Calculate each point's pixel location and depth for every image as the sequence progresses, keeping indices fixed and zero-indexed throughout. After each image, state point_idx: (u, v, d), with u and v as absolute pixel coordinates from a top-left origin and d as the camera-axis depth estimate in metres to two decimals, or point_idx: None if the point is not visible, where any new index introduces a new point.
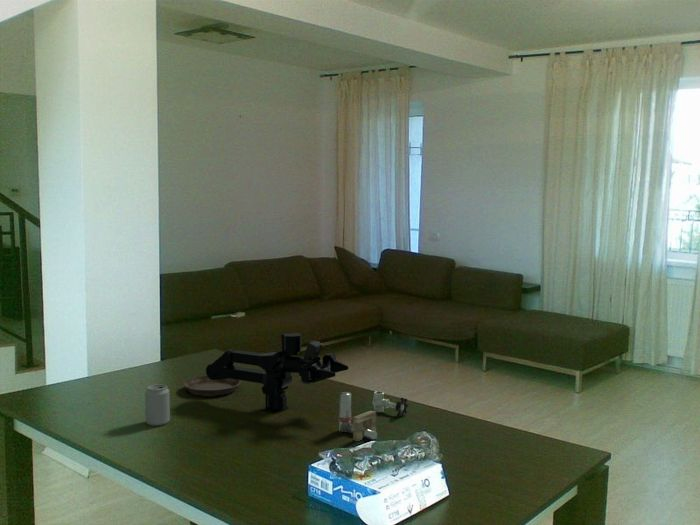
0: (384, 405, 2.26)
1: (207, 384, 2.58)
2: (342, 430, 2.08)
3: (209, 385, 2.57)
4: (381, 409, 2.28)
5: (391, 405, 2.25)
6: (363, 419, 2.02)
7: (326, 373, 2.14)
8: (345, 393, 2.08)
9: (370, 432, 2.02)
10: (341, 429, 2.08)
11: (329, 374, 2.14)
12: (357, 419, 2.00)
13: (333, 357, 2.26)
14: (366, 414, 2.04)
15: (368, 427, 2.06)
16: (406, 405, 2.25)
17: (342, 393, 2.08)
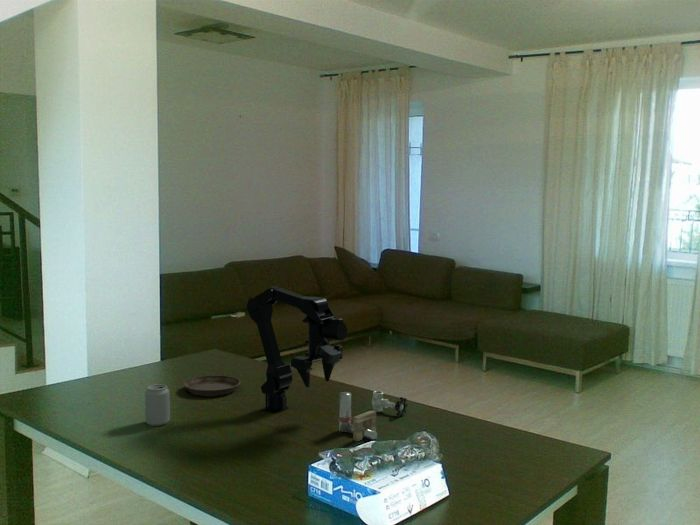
0: (383, 405, 2.27)
1: (207, 384, 2.58)
2: (342, 430, 2.08)
3: (209, 385, 2.57)
4: (380, 409, 2.28)
5: (390, 405, 2.26)
6: (363, 419, 2.02)
7: (305, 380, 2.14)
8: (345, 393, 2.08)
9: (370, 432, 2.02)
10: (341, 429, 2.08)
11: (305, 382, 2.15)
12: (357, 419, 2.00)
13: (335, 363, 2.21)
14: (366, 414, 2.04)
15: (368, 427, 2.06)
16: (405, 405, 2.26)
17: (342, 393, 2.08)
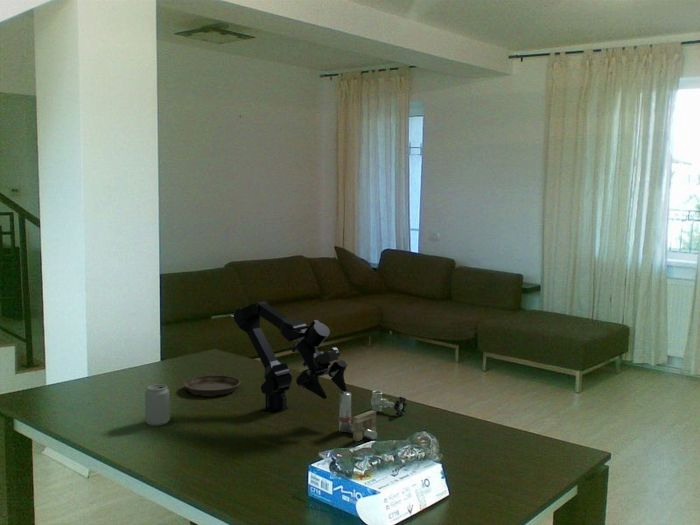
0: (382, 405, 2.27)
1: (207, 384, 2.58)
2: (342, 430, 2.08)
3: (209, 385, 2.57)
4: (379, 408, 2.29)
5: (390, 404, 2.26)
6: (363, 419, 2.02)
7: (319, 391, 2.08)
8: (345, 393, 2.08)
9: (370, 432, 2.02)
10: (341, 429, 2.08)
11: (321, 394, 2.08)
12: (357, 419, 2.00)
13: (342, 370, 2.17)
14: (366, 414, 2.04)
15: (368, 427, 2.06)
16: (405, 404, 2.26)
17: (342, 393, 2.08)
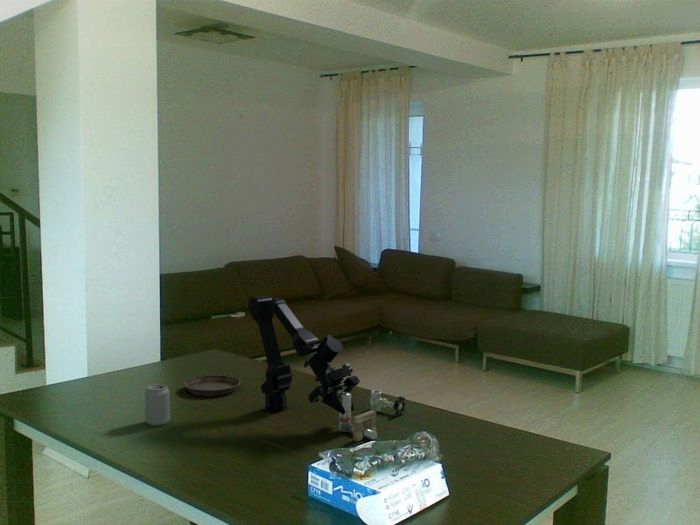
0: (382, 404, 2.27)
1: (207, 384, 2.58)
2: (342, 430, 2.08)
3: (209, 385, 2.57)
4: (379, 408, 2.29)
5: (389, 404, 2.26)
6: (363, 419, 2.02)
7: (338, 406, 2.07)
8: (345, 393, 2.08)
9: (370, 432, 2.02)
10: (341, 429, 2.08)
11: (340, 409, 2.07)
12: (357, 419, 2.00)
13: (349, 388, 2.12)
14: (366, 414, 2.04)
15: (368, 427, 2.06)
16: (404, 404, 2.26)
17: (342, 393, 2.08)
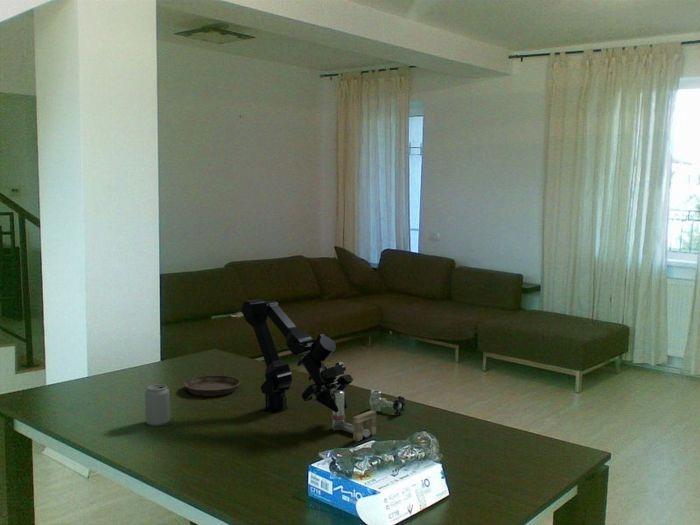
0: (381, 404, 2.27)
1: (207, 384, 2.58)
2: (335, 428, 2.10)
3: (209, 385, 2.57)
4: (378, 408, 2.29)
5: (388, 404, 2.27)
6: (363, 419, 2.02)
7: (331, 404, 2.09)
8: (338, 391, 2.10)
9: (363, 430, 2.04)
10: (334, 427, 2.10)
11: (333, 407, 2.09)
12: (357, 419, 2.00)
13: (342, 386, 2.14)
14: (366, 414, 2.04)
15: (368, 427, 2.06)
16: (403, 403, 2.27)
17: (335, 391, 2.10)
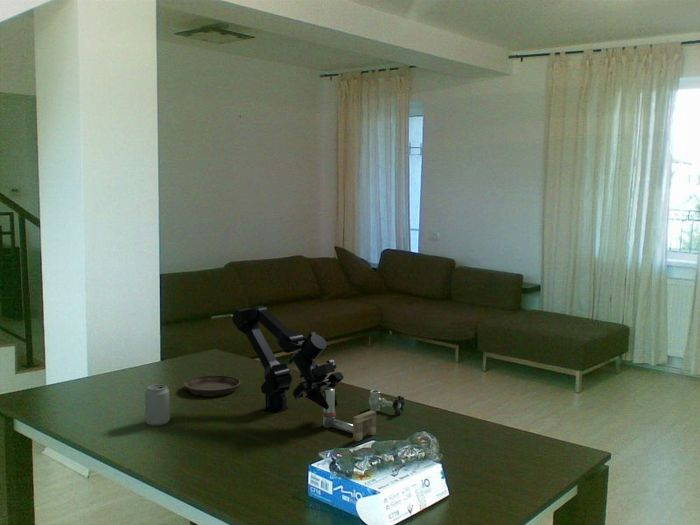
0: (381, 404, 2.28)
1: (207, 384, 2.58)
2: (326, 425, 2.13)
3: (209, 385, 2.57)
4: (378, 408, 2.29)
5: (388, 403, 2.27)
6: (363, 419, 2.02)
7: (322, 402, 2.11)
8: (329, 389, 2.13)
9: None
10: (325, 424, 2.13)
11: (323, 404, 2.11)
12: (357, 419, 2.00)
13: (333, 384, 2.16)
14: (366, 414, 2.04)
15: (368, 427, 2.06)
16: (403, 403, 2.27)
17: (326, 389, 2.13)
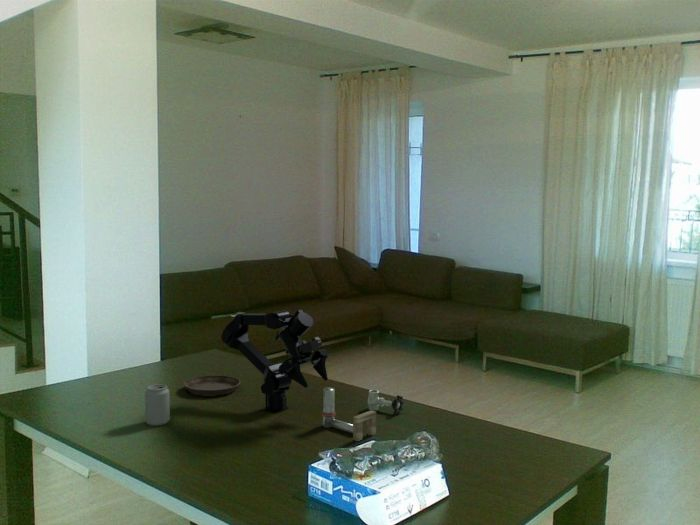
0: (379, 404, 2.28)
1: (207, 384, 2.58)
2: (326, 425, 2.13)
3: (209, 385, 2.57)
4: (376, 407, 2.30)
5: (387, 403, 2.27)
6: (363, 419, 2.02)
7: (301, 380, 2.14)
8: (328, 388, 2.13)
9: (352, 426, 2.06)
10: (325, 424, 2.13)
11: (302, 383, 2.14)
12: (357, 419, 2.00)
13: (324, 359, 2.23)
14: (366, 414, 2.04)
15: (368, 427, 2.06)
16: (402, 403, 2.28)
17: (326, 388, 2.13)
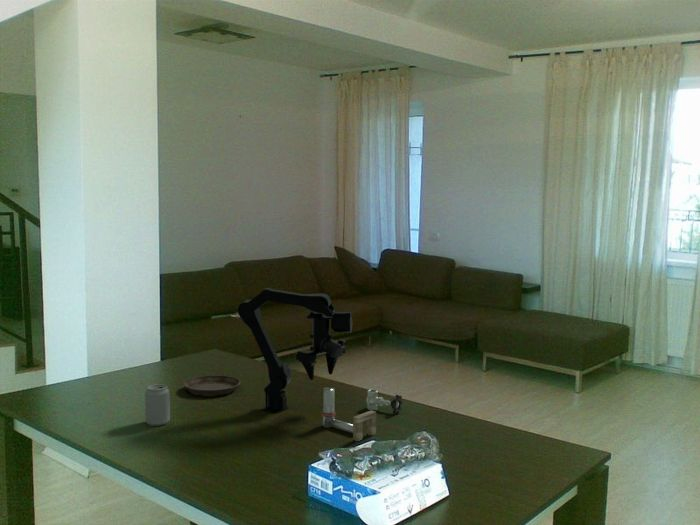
0: (378, 403, 2.28)
1: (207, 384, 2.58)
2: (326, 425, 2.13)
3: (209, 385, 2.57)
4: (375, 407, 2.30)
5: (386, 403, 2.28)
6: (363, 419, 2.02)
7: (310, 372, 2.23)
8: (328, 388, 2.13)
9: (352, 426, 2.06)
10: (325, 424, 2.13)
11: (310, 375, 2.23)
12: (357, 419, 2.00)
13: (338, 356, 2.29)
14: (366, 414, 2.04)
15: (368, 427, 2.06)
16: (400, 402, 2.28)
17: (326, 388, 2.13)
